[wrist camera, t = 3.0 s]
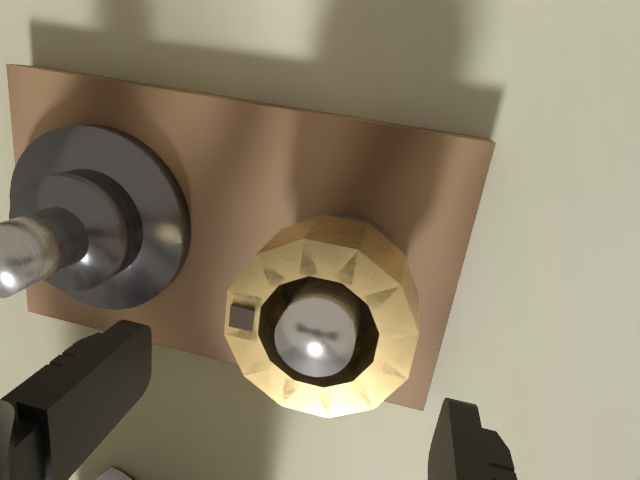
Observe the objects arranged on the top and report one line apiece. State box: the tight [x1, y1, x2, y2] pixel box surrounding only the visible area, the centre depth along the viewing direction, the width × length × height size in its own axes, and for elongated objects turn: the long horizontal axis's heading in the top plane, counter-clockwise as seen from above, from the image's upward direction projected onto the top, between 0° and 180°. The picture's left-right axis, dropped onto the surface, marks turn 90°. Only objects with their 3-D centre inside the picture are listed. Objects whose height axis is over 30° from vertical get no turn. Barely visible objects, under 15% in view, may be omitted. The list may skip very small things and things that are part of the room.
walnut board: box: [6, 64, 495, 411], centre depth 22 cm, size 22×13×2 cm, turn 82°
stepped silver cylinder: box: [274, 213, 397, 377], centre depth 17 cm, size 5×5×6 cm
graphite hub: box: [0, 124, 191, 310], centre depth 19 cm, size 9×9×6 cm
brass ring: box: [224, 214, 419, 418], centre depth 16 cm, size 6×6×3 cm
